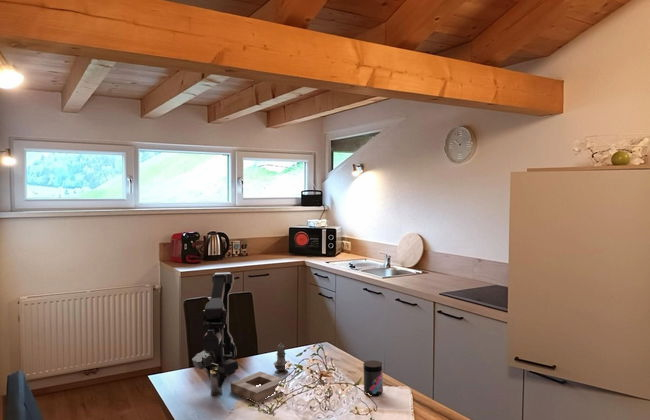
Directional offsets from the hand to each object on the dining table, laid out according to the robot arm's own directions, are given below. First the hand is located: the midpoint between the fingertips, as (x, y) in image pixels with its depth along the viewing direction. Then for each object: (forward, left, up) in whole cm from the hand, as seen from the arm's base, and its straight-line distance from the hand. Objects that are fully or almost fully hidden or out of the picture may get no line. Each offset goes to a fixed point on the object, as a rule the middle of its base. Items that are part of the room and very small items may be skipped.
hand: (216, 385), depth 169 cm
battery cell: (0, 0, -3) cm, 3 cm away
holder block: (+10, +11, -3) cm, 15 cm away
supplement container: (+43, +35, -3) cm, 55 cm away
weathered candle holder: (+3, +29, -3) cm, 29 cm away
